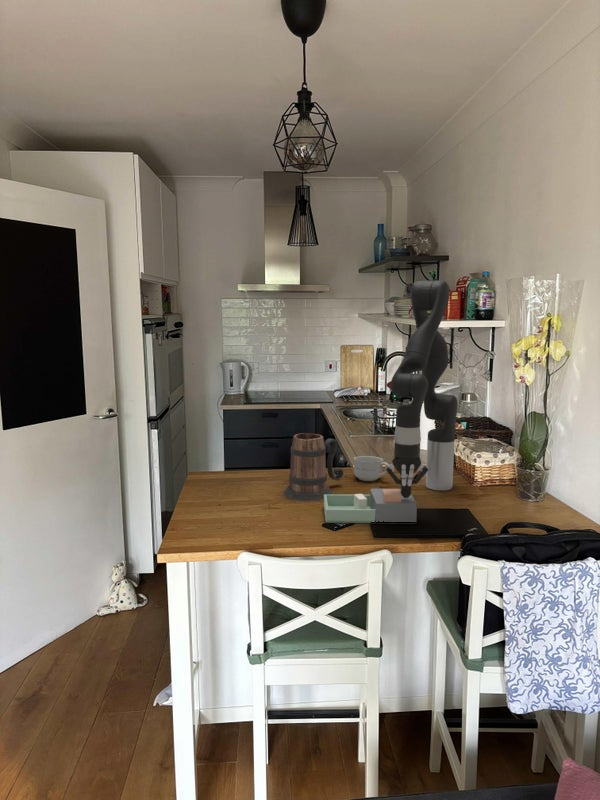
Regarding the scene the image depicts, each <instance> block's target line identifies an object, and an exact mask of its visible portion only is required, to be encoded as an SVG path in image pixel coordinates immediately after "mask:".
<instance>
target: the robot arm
mask: <svg viewBox="0 0 600 800" xmlns="http://www.w3.org/2000/svg"><path fill="white" fill-rule="evenodd" d="M449 300H450V286H449V284H448V282H446V281H445V280H416V281H414V282H413V284H412V285H411V289H410V301H411V307H412V313H413V316H414V317H413V318H414V322H415V327H416V330H415V331H413V333H412V334H411V336H410V337H409V339H408V340H407V344H406V348H405V352H404V354H403V355H404V356H403V359H402V361H401V363H400V364H399V366H398V368H397V369H396V371H395V373H394V374H393V375H392V377H391V380H390V386H389V387H390V390H391V393H392V395H393V396H394V397H399V398H410V399H412V401H411V402H410V403H409V404H408V403H407V404H402V405H398V406H397V407H396V410H395V411H396V413H395V416H396V417H395V429H394V430H395V431H394V447H393V448H394V449H393V459H392V461H391V464H389V466H385V468H384V469H385V470H386V471H387V473H388V474H389V476H390V477H391V478H392V480H393V481H394V482H395V483H396V485H400V489H401V495H402V496H403V497H404V498H409V496H410V495H412V486H413V485H417V484H418V483H419V482H420V481H421V479H422V478H423V477H424V476H425V488H427V489H429V490H434V491H449V490H452V489H453V480H454V479H453V477H454V458H455V455H454V454H455V438H456V428H457V427H456V425H457V424H456V423H457V415H458V399H457V397H456V396H455V395H453V394H446V393H445V394H444V393H443V394H442V393H437V392H436V385H437V383H438V382H439V380H440V379H441V377H442V376H443V374H444V372H445V371H446V369H447V367H448V365H449V361H450V360H449V347H448V343H447V341H446V339H445V338H444V337H443V335H442V334H441V332H440V331H439V330H438V329H439V328H440V325H441V323H442V320H443V317H444V316H445V313H446V310H447V307H448V305H449ZM428 311H431V312H430V313H429V312H428ZM420 371H421V373H416V372H420ZM422 409H423V411H424V415H425V417H426V418H427V419H428V420H432V421H438V422H439V421H441V422H444V425H442V426H440V427H437V428H433V429H430V430H429V431H428V432H427V442H426V464H425V465H423V464H422V460H421V442H422V441H421V439H422V438H421V434H422V433H421V413H422ZM395 469H396V471H397V472H398V474H399V478H398V476H397V475H396V474H395ZM417 470H418V471H417ZM416 472H417V473H416ZM415 473H416V474H415ZM414 474H415V475H414Z"/></svg>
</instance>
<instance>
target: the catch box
mask: <svg viewBox="0 0 600 800" xmlns="http://www.w3.org/2000/svg"><path fill="white" fill-rule="evenodd" d="M363 495H364V496H365V497H366V498H367V509H354V494H332V495H327V494H324V499H323V511H324V512H323V513H324V517H325V518H324V520H325V524H336V523H337V524H372V523H371V522H375V509H371V508H370V494H363ZM375 523H376V522H375Z"/></svg>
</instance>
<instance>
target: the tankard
mask: <svg viewBox="0 0 600 800" xmlns="http://www.w3.org/2000/svg"><path fill="white" fill-rule="evenodd" d="M292 437H293V438H292V444H291V446H290V469H289V472H290V473H289V476H288V477H289V478H288V480H289V484H288V486H287V487H286V488H285V490H284V491H283V492H282V493H283V496H285V497H286V498H288V499H290V500H294V501H301V502H318V501H322V500H323V501H324V494H327V495H333V492H332V490H331V489H330V487H329V486H328V484H327V480H328V477H329V478H330V479H332V480H333V481H340V480H341V479H342V478H343V475H344V470H343V468H340V467H333V461H334V459H335V458H334V457H335V455H336V453H337V450H338V441H337V440H336V439H334V438H327V439H325V440H324V436H323V435H321V434H319V433H318V434H317V433H307V432H306V433H305V432H300V433H297V434H294V435H293V436H292ZM326 453H328V456H327V460H326ZM326 468H327V470H326ZM333 468H334V469H333ZM327 473H328V475H327ZM335 475H336V476H335ZM327 476H328V477H327Z"/></svg>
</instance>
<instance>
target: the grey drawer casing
mask: <svg viewBox="0 0 600 800" xmlns="http://www.w3.org/2000/svg"><path fill="white" fill-rule="evenodd" d="M382 489H383V488H370V490H369V491H370V493H369V495H370V508H371V509H375V521H376V522H378V521H379V522H383V521H384V522H416V523H417V513H418V512H417V511H418V503H417V502H416V500H415V498H414V496H413V495H412V494H411V495H410V496H409V498H404V497H403V496H402V495H401V503H400V502H384V500H383V497H382ZM398 489H399V490H400V492H401V488H398ZM376 522H375V523H376Z"/></svg>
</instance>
